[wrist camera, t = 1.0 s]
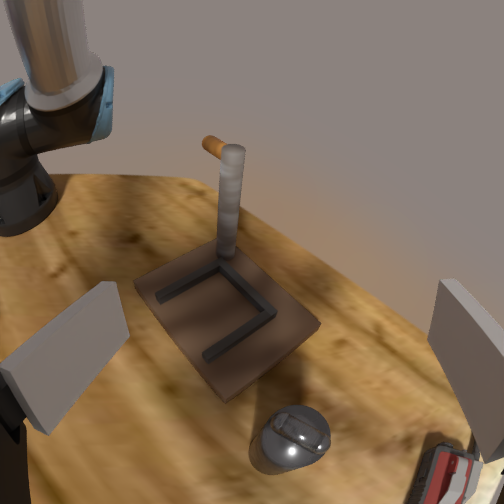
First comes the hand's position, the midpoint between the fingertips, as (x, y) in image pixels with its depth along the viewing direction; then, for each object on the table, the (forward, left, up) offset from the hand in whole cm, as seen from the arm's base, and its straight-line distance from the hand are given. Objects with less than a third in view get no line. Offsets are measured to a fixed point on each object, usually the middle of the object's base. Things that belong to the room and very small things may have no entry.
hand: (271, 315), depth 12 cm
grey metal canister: (+4, +1, -21) cm, 21 cm away
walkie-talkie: (+22, +12, -22) cm, 33 cm away
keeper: (-12, +8, -21) cm, 25 cm away
